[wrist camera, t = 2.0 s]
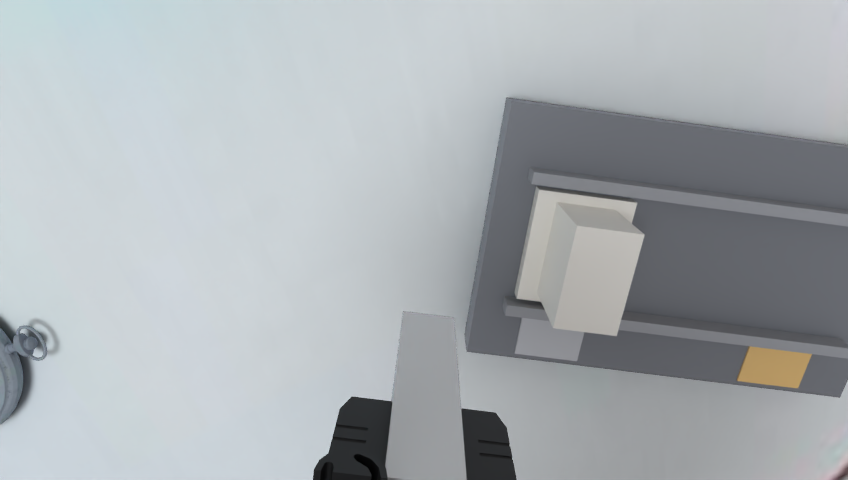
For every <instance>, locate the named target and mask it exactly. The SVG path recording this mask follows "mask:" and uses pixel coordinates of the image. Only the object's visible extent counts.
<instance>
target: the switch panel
mask: <svg viewBox="0 0 848 480" xmlns="http://www.w3.org/2000/svg"><path fill="white" fill-rule="evenodd" d="M536 186H540V187H547V188H555V189H562V190H570V191H577V192H584V193H592V194H599V195H607V196H614V197H622V198H629V199H633V200H634V201H635V202H637V206H636V210H635V214H634V217H633V221H632V224H633V225H634V226H635V227H636V228H637V229H639V230H640V231H641V232H642V233H643V234H645V236H644V239H643V243H642V246H641V250H640V254H639V257H638V261H637V264H636V268H635V272H634V275H633V279H632V282H631V286H630V290H629V293H628V297H627V301H626V304H625V308H624V311H623V315H622V319H621V322H620V326H619V329H618V333H617V336H611V335H603V334H595V333H587V332H579V331H571V330H563V329H555V328H553V327H552V325H551V323H550V320H549V318H548V316H547V314H546V311H545V309H544V307H543V305H542V303H541V302H539V301H531V300H523V299H517V298H516V295H515V293H514V292H515V287H516V283H517V278H518V273H519V268H520V263H521V258H522V253H523V248H524V243H525V238H526V233H527V229H528V224H529V219H530V214H531V209H532V204H533V199H534V194H535V189H536ZM465 342H466V350H467V352H474V353H482V354H491V355H499V356H507V357H515V358H523V359H531V360H539V361H548V362H556V363H564V364H572V365H580V366H588V367H596V368H605V369H613V370H621V371H629V372H637V373H645V374H653V375H662V376H670V377H678V378H686V379H694V380H702V381H710V382H718V383H727V384H735V385H743V386H751V387H759V388H767V389H775V390H784V391H792V392H800V393H808V394H816V395H824V396H832V397H840V396H841V394H842V391H843V389H844V387H845V385H846V382H847V380H848V145H842V144H835V143H828V142H821V141H814V140H807V139H799V138H792V137H785V136H778V135H771V134H763V133H756V132H749V131H742V130H735V129H728V128H720V127H713V126H706V125H699V124H692V123H684V122H677V121H670V120H663V119H656V118H649V117H641V116H634V115H627V114H620V113H613V112H605V111H598V110H591V109H584V108H577V107H570V106H562V105H555V104H548V103H541V102H534V101H526V100H519V99H512V98H506V103H505V109H504V114H503V120H502V126H501V131H500V137H499V143H498V148H497V154H496V159H495V165H494V171H493V176H492V182H491V188H490V193H489V199H488V205H487V210H486V216H485V222H484V227H483V233H482V239H481V244H480V250H479V256H478V261H477V267H476V273H475V278H474V284H473V290H472V295H471V301H470V307H469V312H468V318H467V323H466V329H465Z"/></svg>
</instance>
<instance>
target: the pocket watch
mask: <svg viewBox="0 0 848 480" xmlns="http://www.w3.org/2000/svg"><path fill="white" fill-rule="evenodd" d="M25 328H26V329H29V330H30V331H32V332H33V333H34V334H35V335H36V336H37V337H38V338H39V340H40V341H41V343H42V346H43V350H44V353H43V356H42V357H40V358H36V357H34V356H32V354H33V352H34V349H35V348H36V347H37V344H38V343H37V340H36V338H34V337H27V336H26V335H25V334H23V333H21V334H20V330H21V329H25ZM16 334H17V335H15V336H14V338H13V344H12V342H11V341H10V339H9V338H8V336H7V335H6V334H5V333H4V331H3V330H2V329H1V328H0V424H2V423H3V422H4V421H5V420H6V419H8V417H9V416H10V415H11V414H12V413H13V411H14V410H15V408H16V406H17V404H18V401H19V399H20V396H21V393H22V388H23V370H22V365H21V362H20V358H19V356H18V353H19V354H20V355H22V356H24V357H26V356H29V357H30V358H31V359H33V360H36V361H40V360H43V359H44V358H45V357H46V355H47V347H46V344H45V341H44V339H43V338H42V336H41V335H40V334H39V333H38V332H37V331H36V330H35V329H34V328H32V327H30V326H20V327H19V328H18V329H17V331H16ZM17 352H18V353H17Z"/></svg>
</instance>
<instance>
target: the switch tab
mask: <svg viewBox="0 0 848 480" xmlns="http://www.w3.org/2000/svg"><path fill="white" fill-rule="evenodd" d="M636 206H637V202H635V201H634V200H633V199H629V198H622V197H614V196H607V195H599V194H592V193H584V192H577V191H570V190H562V189H555V188H547V187H540V186H536V189H535V194H534V199H533V204H532V209H531V214H530V219H529V224H528V229H527V233H526V238H525V243H524V248H523V253H522V258H521V263H520V268H519V273H518V278H517V283H516V287H515V292H514V293H515V295H516V298H517V299H523V300H531V301H539V302H541V303H542V305H543V307H544V309H545V311H546V314H547V316H548V318H549V320H550V323H551V325H552V327H553V328H555V329H563V330H571V331H579V332H587V333H595V334H603V335H611V336H617V333H618V329H619V326H620V322H621V319H622V315H623V311H624V308H625V304H626V301H627V297H628V293H629V290H630V286H631V282H632V279H633V275H634V272H635V268H636V264H637V261H638V257H639V254H640V250H641V246H642V243H643V239H644V236H645V234H643V233H642V232H641V231H640V230H639V229H637V228H636V227H635V226H634V225H633V224H632V221H633V217H634V214H635V210H636Z"/></svg>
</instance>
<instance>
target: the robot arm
mask: <svg viewBox="0 0 848 480" xmlns="http://www.w3.org/2000/svg"><path fill="white" fill-rule="evenodd" d="M509 444H510V443H509V438H508V433H507V428H506V426H505V425H504V424H503V422H502V421H501V420H500V418H499V417H498V416H497V414H496V413H493V412H485V411H477V410H469V409H461V400H460V387H459V374H458V361H457V348H456V335H455V322H454V318H453V317H445V316H437V315H429V314H421V313H413V312H406V311H403V317H402V324H401V332H400V339H399V347H398V354H397V361H396V369H395V376H394V384H393V391H392V400H391V401H384V400H375V399H367V398H359V397H351V398H350V399H349V400H348V401H347V402H346V403H345V404H344V405H343V406H342V407H341V408H340V411H339V415H338V419H337V422H336V427H335V430H334V434H333V439H332V442H331V446H330V450H329V453H328V454H327V455H326V456H324V457H323V458H322V459H320V460H319V462H318V464H317V465H316V467H315V469H314V476H313V480H516V475H515V469H514V464H513V460H512V454H511V449H510V447H509Z"/></svg>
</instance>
